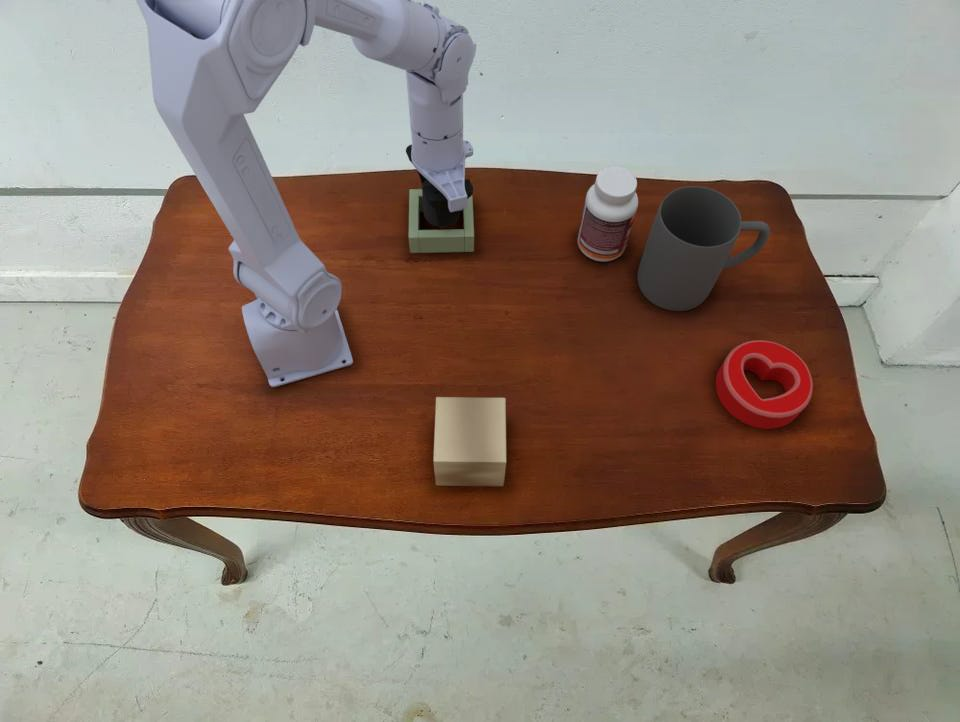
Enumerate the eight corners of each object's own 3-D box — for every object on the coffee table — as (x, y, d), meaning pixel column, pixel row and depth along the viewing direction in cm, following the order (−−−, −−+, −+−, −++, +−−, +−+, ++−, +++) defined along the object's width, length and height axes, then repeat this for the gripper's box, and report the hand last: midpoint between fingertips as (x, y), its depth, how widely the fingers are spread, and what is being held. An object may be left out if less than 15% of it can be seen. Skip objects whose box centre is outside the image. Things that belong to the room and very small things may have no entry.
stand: (435, 485, 73) (433, 461, 67) (438, 424, 77) (436, 396, 71) (503, 486, 73) (506, 462, 68) (502, 425, 77) (505, 397, 71)
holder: (410, 253, 89) (408, 237, 86) (411, 205, 93) (409, 189, 90) (474, 252, 89) (474, 236, 86) (471, 204, 93) (472, 188, 90)
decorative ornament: (721, 426, 77) (731, 414, 74) (710, 351, 82) (719, 336, 79) (810, 430, 77) (822, 418, 74) (794, 354, 82) (805, 340, 79)
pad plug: (430, 230, 87) (428, 205, 83) (419, 204, 89) (417, 178, 85) (464, 221, 88) (464, 196, 84) (453, 196, 90) (452, 170, 86)
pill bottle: (630, 261, 88) (650, 199, 79) (582, 266, 88) (596, 204, 78) (619, 223, 92) (636, 159, 82) (572, 228, 91) (584, 164, 82)
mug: (643, 315, 84) (668, 250, 74) (629, 255, 89) (650, 186, 79) (754, 309, 85) (794, 244, 75) (735, 249, 90) (770, 181, 79)
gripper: (494, 159, 73) (491, 244, 85) (450, 72, 80) (452, 162, 92) (430, 175, 72) (435, 259, 84) (390, 85, 79) (400, 175, 91)
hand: (440, 209), depth 88 cm, fingers closed on pad plug, 4 cm apart
